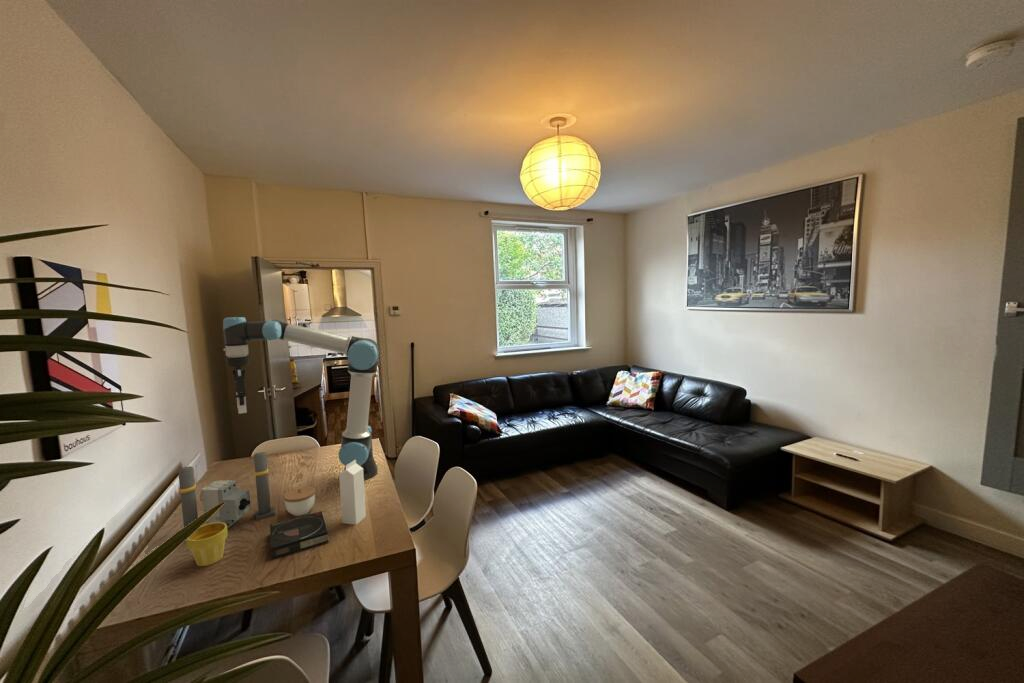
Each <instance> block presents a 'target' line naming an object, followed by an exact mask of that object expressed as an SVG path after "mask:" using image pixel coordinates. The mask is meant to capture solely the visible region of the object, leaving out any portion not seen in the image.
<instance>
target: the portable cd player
mask: <svg viewBox="0 0 1024 683" xmlns="http://www.w3.org/2000/svg"><path fill="white" fill-rule="evenodd" d="M269 532H270V534H269V538H270V554H271V560H275V559H278V558H281V557H284V556H288V555H291V554H295V553H298V552H301V551H305V550H307V549H312V548H314V547H317V546H321V545H325V544H328V543H329V531H328V528H327V525H326V522H325V518H324V516H323V512H322V511H316V512H313V513H309V514H307V515H306V514H304V515H301V516H297V517H295V518H291V519H287V520H283V521H280V522H276V523H272V524H270V525H269Z"/></svg>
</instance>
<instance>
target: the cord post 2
mask: <svg viewBox="0 0 1024 683" xmlns="http://www.w3.org/2000/svg"><path fill="white" fill-rule="evenodd" d="M253 462H254V471H253V474H254V477H255V487H256V499H257V509H258V510H255V511H254V513H255V521H259V520H262V519H266V518H271V517H274V516H275V515H276V514H275V513H276V512H275V510H274V509H275V508H274V506H271V497H270V496H271V494H270V484H269V482H270V481H269V473H270V472H269V468H268V460H267V452H265V451H259V452H256V453H254V454H253Z"/></svg>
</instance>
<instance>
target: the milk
mask: <svg viewBox="0 0 1024 683" xmlns="http://www.w3.org/2000/svg"><path fill="white" fill-rule="evenodd" d="M338 478H339V491H340V492H339V493H340V494H339V496H340V507H341V510H340V511H341V523H342V524H348V525H355V526H357V525H358V524H359V523H360V522H362V520H364V519H365V518H366V517H367V514H366V494H365V480H364V475H363V468H362V467H361V466H359V465H358V464H356V460H354V461H352V462H351V463H349V464H347V465H346V469H345V470H344V469H343V470H342V471H341V472H339V473H338Z"/></svg>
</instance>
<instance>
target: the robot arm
mask: <svg viewBox="0 0 1024 683" xmlns="http://www.w3.org/2000/svg"><path fill="white" fill-rule="evenodd" d="M222 321H223V324H222V325H223V326H222V328H223V329H222V330H223V338H224V347H225V348H223V352H225V356H226V358H225V360H226V361H225V364H226V367H229V368H233V370H232V376H233V380H234V382H235V393H236V395H234V397H235V399H236V405H237V411H238V415H239V414H246V413H248V411H247V399H246V398H247V397H246V391H247V390H246V388H245V381H246V380H245V379H246V378H245V374H246V371H245V369H243V367H245V366H249V365H250V356H249V354H250V353H249V344H248V341H274V340H282V341H287V342H291V343H295V344H299V345H304V346H308V347H313V348H316V349H321V350H327V351H330V352H333V353H334V352H336V353H339V354H344V356H345V357H346V358H347V361H348V363H347V364H348V365H347V372H348V373H349V374H350V384H349V385H350V386H349V394H348V396H349V397H348V407H347V419H346V427H345V429H344V431H342V433H341V443H340V448H339V451H338V460H339V461H340V463H341V464H342V465H343V466H344V469H343V471H344V470H345V469H346V465H347V464H349V463H351V462H352V461H354V460H356V464H358V465H359V466H361V467H362V468H363V475H364V481H365V480H369V479H371V478H373V477H375V476H376V475H377V474H378V472H379V471H378V470H379V469H378V465H377V463H376V461H375V458H374V451H373V450H374V448H373V435H372V434H373V430H372V427H371V426H370V425H369V417H370V416H369V415H370V406H371V394H372V387H373V386H372V384H373V376H374V375H375V374H376V373H377V372H378V370H377V369H378V360H379V356H380V353H381V352H380V346H379V344H378V343H377V342H376V341H375V340H373V339H371V338H365V337H358V336H354V335H350V336H348V337H347V336H343V335H339V334H335V333H332V332H328V331H327V332H326V331H324V330H323V331H322V330H317V329H314V328H310V327H305V326H300V325H296V324H291V323H287V322H284V321H282V320H278V319H272V320H263V321H247V319H246V317H244V316H241V317H239V316H235V317H232V316H231V317H225V318H224V319H223V320H222Z"/></svg>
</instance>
